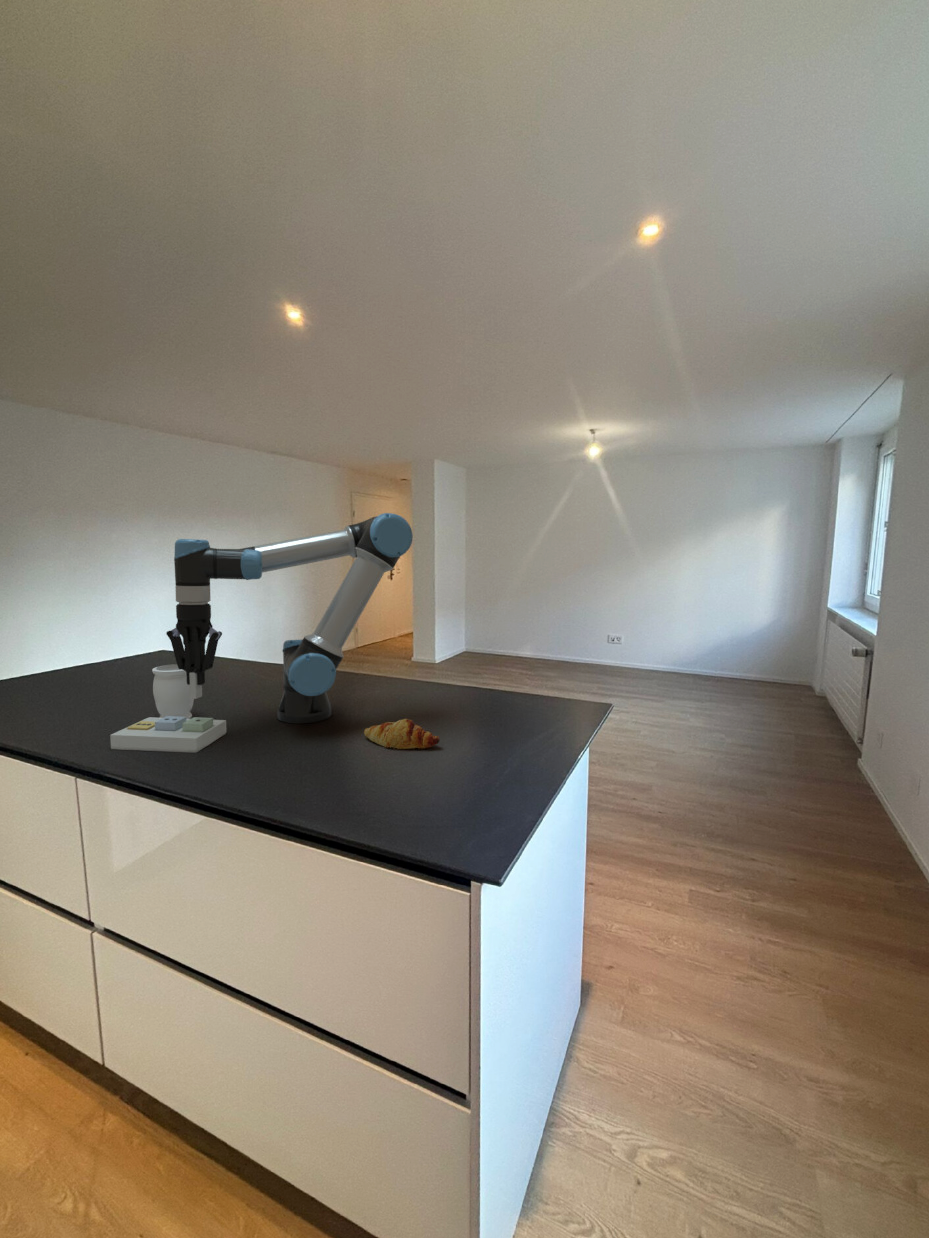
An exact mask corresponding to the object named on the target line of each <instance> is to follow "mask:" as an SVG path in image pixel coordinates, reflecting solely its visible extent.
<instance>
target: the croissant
mask: <svg viewBox="0 0 929 1238" xmlns="http://www.w3.org/2000/svg"><path fill="white" fill-rule="evenodd" d="M363 734H364V736H365V737H366V738H367V739H368V740H370V741H371V742H373V743H376V744H377V745H379V746H381V747H384V748H386V749H387V748H389V747H390V748H389V749H392V748H391V747H394V748H393V749H395V748H397V749H396V750H409V749H410V750H411V749H415V748H418V750H419V749H429V748H431V747H434V746H435V745H438V744H439V743H440V736H438V735H433V733H431V732H430V731H426V730H424V729H423V728H422V727H421V725H417V724H415V723H414V721H413V720H412V719H408V718H404V719H399V720H397V721H392V722H391V721H387V722H384V723H381V724H376V725H372V726H370V727H366V728H365V729H364V732H363Z"/></svg>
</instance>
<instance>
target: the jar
mask: <svg viewBox="0 0 929 1238" xmlns="http://www.w3.org/2000/svg"><path fill="white" fill-rule="evenodd" d="M152 674H153V675H154V677H153V681H152V682H153V683H152V694H153V698H154V702H155V707H156V710H157V712H158V714H159V716H158V718H165V717H167V716H175V717H186V719H192V718H193V714H192V712H191V711H192V709H193V707H194V700H195V699H190V685H188V684H187V676H186V671H185V670H182V669H179V668H178V666H177V663H175V664H166V665H160V666H156V667H153V668H152Z"/></svg>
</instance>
